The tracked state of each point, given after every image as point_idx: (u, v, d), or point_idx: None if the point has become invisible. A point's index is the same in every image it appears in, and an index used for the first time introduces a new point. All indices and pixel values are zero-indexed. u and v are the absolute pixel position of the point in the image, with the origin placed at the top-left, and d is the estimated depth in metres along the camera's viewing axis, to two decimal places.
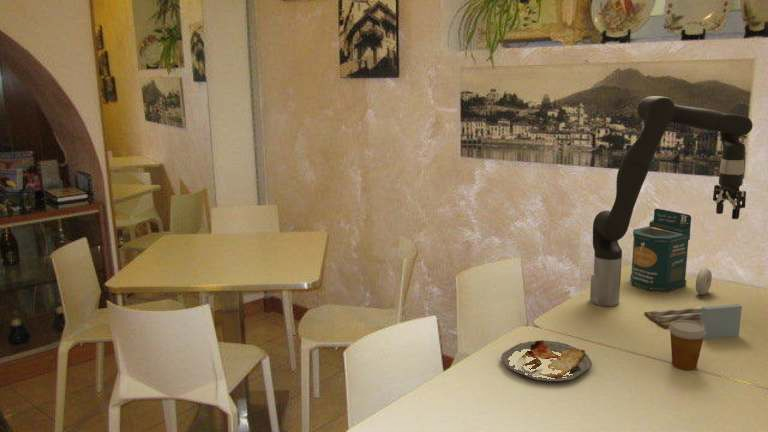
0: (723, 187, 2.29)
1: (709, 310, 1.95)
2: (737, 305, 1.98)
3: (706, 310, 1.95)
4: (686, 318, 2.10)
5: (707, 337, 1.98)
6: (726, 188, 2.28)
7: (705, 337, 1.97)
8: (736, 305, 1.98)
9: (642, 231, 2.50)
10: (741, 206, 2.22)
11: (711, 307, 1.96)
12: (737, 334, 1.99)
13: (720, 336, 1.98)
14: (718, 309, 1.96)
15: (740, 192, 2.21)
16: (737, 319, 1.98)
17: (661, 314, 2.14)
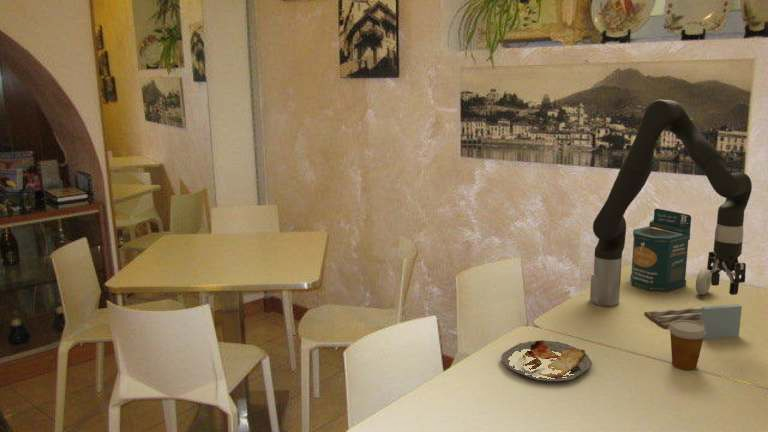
0: (719, 256, 1.95)
1: (709, 310, 1.96)
2: (737, 305, 1.98)
3: (706, 310, 1.95)
4: (686, 318, 2.10)
5: (707, 337, 1.98)
6: (722, 257, 1.94)
7: (705, 337, 1.97)
8: (736, 305, 1.98)
9: (642, 231, 2.50)
10: (740, 281, 1.88)
11: (711, 307, 1.96)
12: (737, 334, 1.99)
13: (720, 336, 1.98)
14: (718, 309, 1.96)
15: (739, 264, 1.87)
16: (737, 319, 1.98)
17: (661, 314, 2.14)
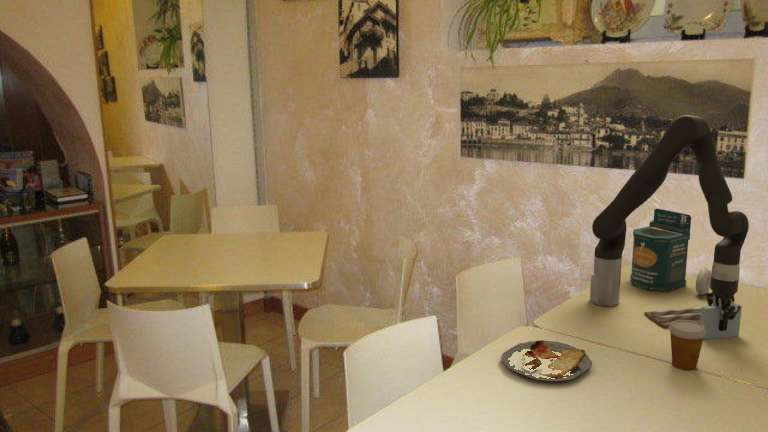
0: (715, 292, 1.98)
1: (709, 310, 1.95)
2: (737, 305, 1.97)
3: (706, 310, 1.95)
4: (686, 318, 2.10)
5: (707, 337, 1.98)
6: (719, 294, 1.96)
7: (705, 337, 1.97)
8: (736, 305, 1.97)
9: (642, 231, 2.50)
10: (729, 318, 1.94)
11: (711, 307, 1.96)
12: (737, 334, 1.99)
13: (720, 336, 1.98)
14: (718, 309, 1.96)
15: (733, 308, 1.90)
16: (737, 319, 1.98)
17: (661, 314, 2.14)
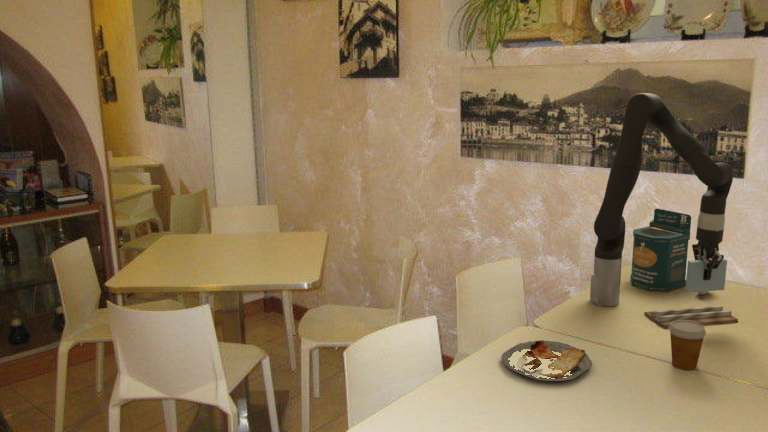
0: (701, 242, 2.03)
1: (694, 264, 2.01)
2: (723, 259, 2.03)
3: (692, 263, 2.01)
4: (686, 318, 2.10)
5: (693, 290, 2.03)
6: (704, 244, 2.01)
7: (691, 290, 2.03)
8: None
9: (642, 231, 2.50)
10: (713, 267, 1.99)
11: (697, 261, 2.02)
12: (722, 288, 2.04)
13: (706, 289, 2.04)
14: (704, 263, 2.01)
15: (717, 257, 1.95)
16: (722, 273, 2.03)
17: (661, 314, 2.14)
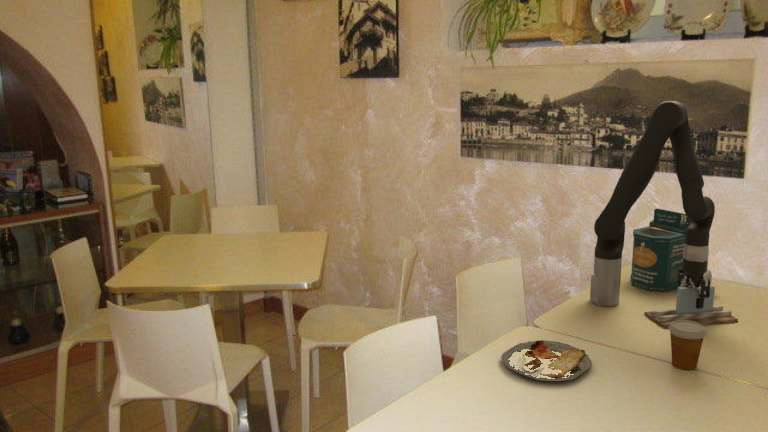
0: (687, 272, 2.12)
1: (684, 290, 2.10)
2: (710, 286, 2.12)
3: (681, 290, 2.10)
4: (686, 318, 2.10)
5: None
6: (690, 274, 2.10)
7: None
8: None
9: (642, 231, 2.50)
10: (705, 296, 2.05)
11: (686, 287, 2.11)
12: None
13: None
14: (692, 289, 2.10)
15: (704, 281, 2.04)
16: (710, 299, 2.12)
17: (661, 314, 2.14)
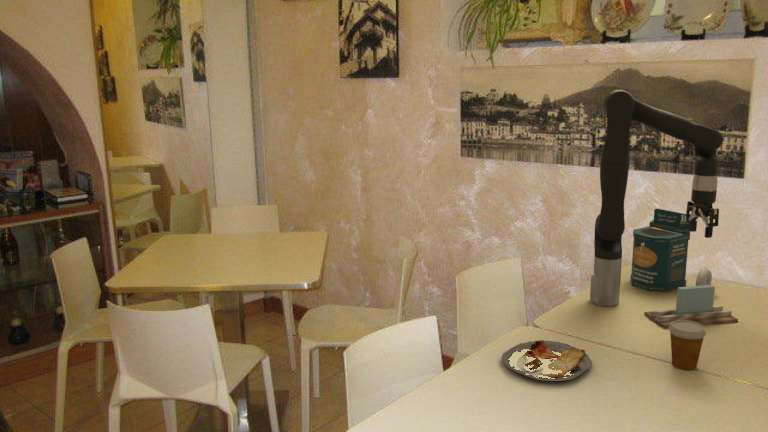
0: (696, 204, 2.18)
1: (684, 290, 2.10)
2: (710, 286, 2.12)
3: (681, 290, 2.10)
4: (686, 318, 2.10)
5: None
6: (699, 205, 2.16)
7: None
8: (709, 286, 2.12)
9: (642, 231, 2.50)
10: (714, 224, 2.11)
11: (686, 287, 2.11)
12: None
13: None
14: (692, 289, 2.10)
15: (713, 210, 2.10)
16: (710, 299, 2.12)
17: (661, 314, 2.14)
